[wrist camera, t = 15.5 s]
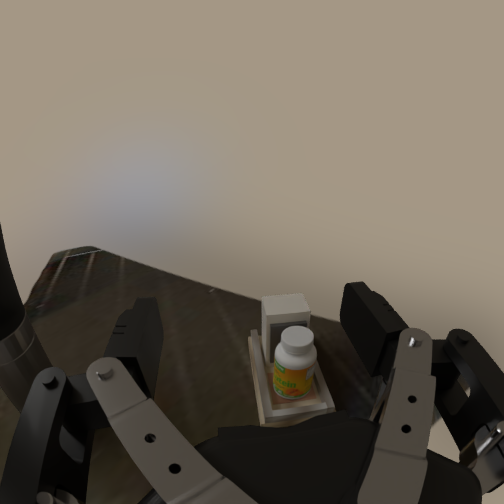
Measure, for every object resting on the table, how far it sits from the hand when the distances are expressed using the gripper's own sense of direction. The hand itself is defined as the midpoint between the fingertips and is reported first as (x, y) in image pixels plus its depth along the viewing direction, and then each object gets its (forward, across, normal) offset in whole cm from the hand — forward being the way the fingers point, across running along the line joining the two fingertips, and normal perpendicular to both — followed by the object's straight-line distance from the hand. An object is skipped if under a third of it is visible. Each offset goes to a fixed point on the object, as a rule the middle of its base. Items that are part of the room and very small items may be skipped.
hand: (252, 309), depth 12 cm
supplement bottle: (+16, -7, +26) cm, 31 cm away
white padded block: (+22, -7, +26) cm, 35 cm away
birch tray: (+19, -7, +27) cm, 34 cm away
